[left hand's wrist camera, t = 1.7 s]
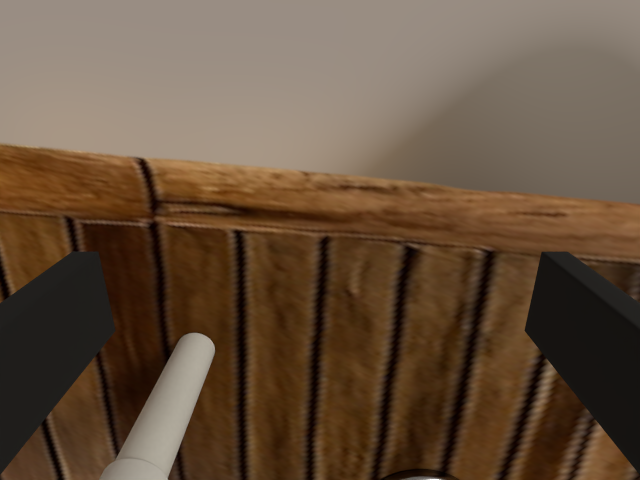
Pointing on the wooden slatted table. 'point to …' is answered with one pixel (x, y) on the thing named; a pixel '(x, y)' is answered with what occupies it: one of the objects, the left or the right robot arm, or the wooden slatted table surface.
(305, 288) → the wooden slatted table surface
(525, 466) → the wooden slatted table surface
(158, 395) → the off-white cylindrical rod
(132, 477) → the lid
